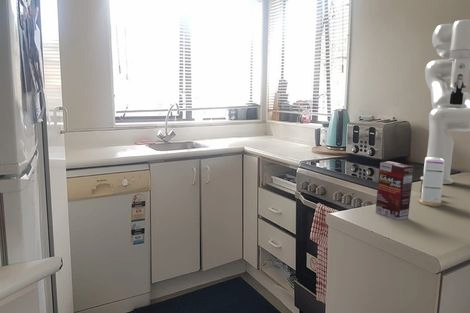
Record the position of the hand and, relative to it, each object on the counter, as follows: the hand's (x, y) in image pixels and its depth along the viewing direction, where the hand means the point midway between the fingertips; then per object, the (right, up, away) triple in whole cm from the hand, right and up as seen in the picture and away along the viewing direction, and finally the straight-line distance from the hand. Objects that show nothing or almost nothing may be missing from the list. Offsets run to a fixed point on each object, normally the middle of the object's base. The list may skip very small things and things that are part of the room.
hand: (455, 104), depth 141 cm
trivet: (-14, -35, -10) cm, 39 cm away
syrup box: (-14, -34, -10) cm, 38 cm away
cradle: (-9, -33, 0) cm, 35 cm away
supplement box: (-33, -37, -25) cm, 56 cm away
